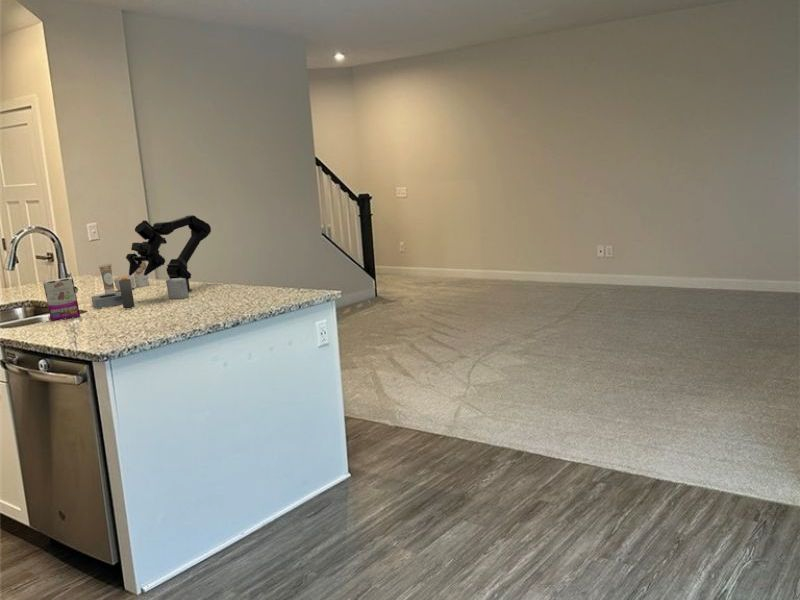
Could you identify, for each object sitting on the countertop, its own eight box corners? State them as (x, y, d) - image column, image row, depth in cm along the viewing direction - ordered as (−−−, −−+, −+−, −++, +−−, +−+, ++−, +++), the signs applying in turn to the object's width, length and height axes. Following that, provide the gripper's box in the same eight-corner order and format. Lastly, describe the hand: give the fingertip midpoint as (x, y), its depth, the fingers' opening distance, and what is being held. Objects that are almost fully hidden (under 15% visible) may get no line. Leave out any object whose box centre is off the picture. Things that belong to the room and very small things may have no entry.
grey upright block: (136, 306, 300) (131, 275, 297) (131, 308, 295) (125, 277, 292) (127, 306, 300) (121, 276, 298) (121, 309, 296) (115, 278, 293)
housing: (120, 300, 317) (119, 292, 316) (125, 304, 307) (123, 295, 306) (92, 305, 311) (91, 296, 310) (96, 309, 301) (94, 300, 300)
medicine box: (189, 297, 311) (186, 278, 309) (182, 299, 307) (179, 280, 305) (175, 296, 314) (172, 278, 313) (168, 299, 310) (165, 280, 309)
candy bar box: (79, 314, 291) (72, 276, 288) (80, 316, 287) (73, 277, 284) (50, 319, 286) (42, 280, 283) (50, 321, 282) (43, 282, 279)
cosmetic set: (109, 295, 334) (102, 257, 331) (98, 294, 340) (91, 257, 336) (153, 285, 354) (147, 249, 350) (142, 284, 359) (136, 248, 356)
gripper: (125, 235, 307) (109, 264, 300) (155, 234, 298) (140, 264, 291) (142, 250, 315) (126, 278, 308) (172, 249, 307) (157, 279, 299)
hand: (137, 275), depth 301 cm, fingers open, 9 cm apart
